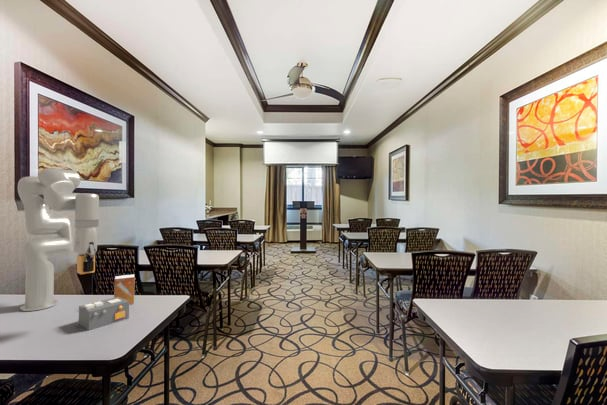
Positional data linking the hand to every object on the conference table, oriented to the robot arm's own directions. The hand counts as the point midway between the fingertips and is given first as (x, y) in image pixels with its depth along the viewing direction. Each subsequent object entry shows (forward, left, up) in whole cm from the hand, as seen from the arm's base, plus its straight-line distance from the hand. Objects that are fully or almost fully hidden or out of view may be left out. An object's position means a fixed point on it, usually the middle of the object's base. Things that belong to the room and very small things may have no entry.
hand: (86, 270), depth 110 cm
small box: (-13, +20, -22) cm, 32 cm away
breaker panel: (+2, +6, -22) cm, 22 cm away
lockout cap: (0, 0, -1) cm, 1 cm away
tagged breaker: (+2, +9, -20) cm, 23 cm away
